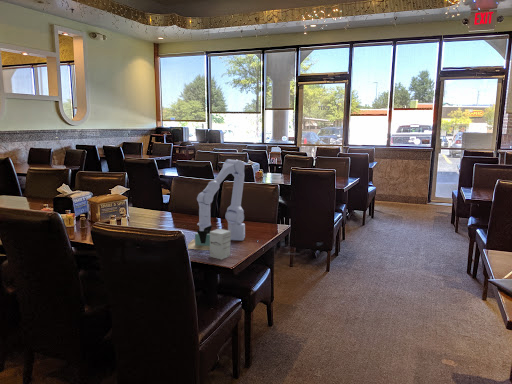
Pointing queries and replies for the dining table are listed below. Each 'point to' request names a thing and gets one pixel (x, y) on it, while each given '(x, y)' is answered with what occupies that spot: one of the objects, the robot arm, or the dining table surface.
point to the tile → (198, 242)
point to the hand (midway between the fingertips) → (204, 241)
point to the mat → (197, 246)
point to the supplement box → (220, 243)
